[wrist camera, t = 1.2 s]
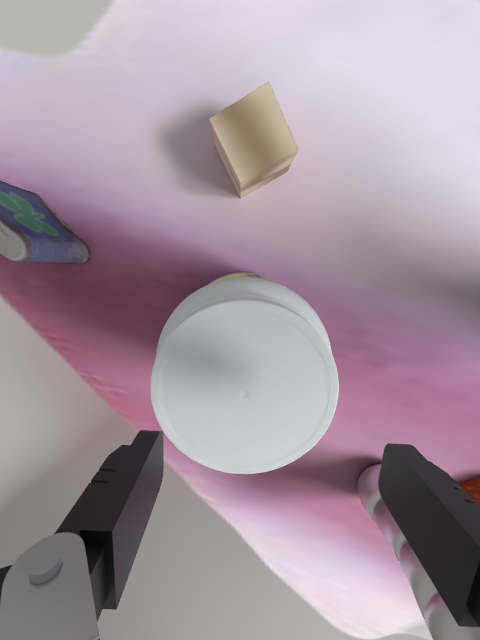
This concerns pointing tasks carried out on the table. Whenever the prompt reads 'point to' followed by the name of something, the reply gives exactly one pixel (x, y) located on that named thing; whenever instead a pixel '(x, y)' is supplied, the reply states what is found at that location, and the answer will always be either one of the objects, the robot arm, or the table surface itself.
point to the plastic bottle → (411, 564)
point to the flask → (35, 231)
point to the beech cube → (253, 140)
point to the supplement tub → (244, 376)
